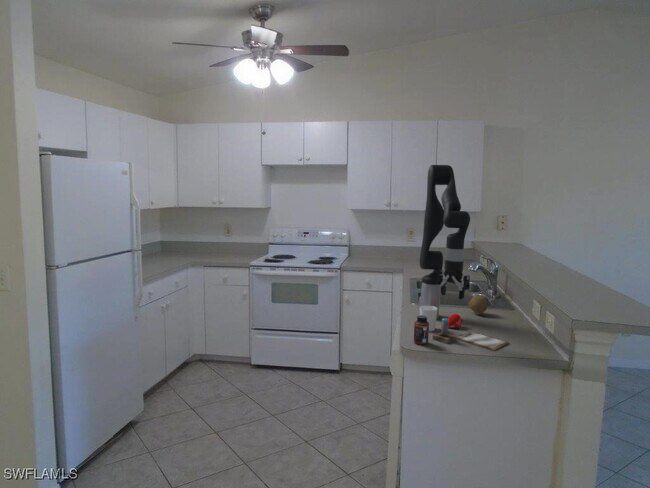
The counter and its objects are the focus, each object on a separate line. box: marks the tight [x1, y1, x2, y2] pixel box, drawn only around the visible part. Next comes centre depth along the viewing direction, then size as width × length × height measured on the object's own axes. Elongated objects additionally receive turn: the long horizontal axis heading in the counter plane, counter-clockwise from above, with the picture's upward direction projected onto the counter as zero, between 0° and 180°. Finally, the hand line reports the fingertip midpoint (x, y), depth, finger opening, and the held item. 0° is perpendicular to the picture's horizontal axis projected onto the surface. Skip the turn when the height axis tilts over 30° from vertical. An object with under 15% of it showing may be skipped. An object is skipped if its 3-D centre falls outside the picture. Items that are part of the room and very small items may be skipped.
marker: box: [441, 317, 449, 337], centre depth 187 cm, size 3×3×9 cm
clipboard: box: [456, 330, 510, 352], centre depth 186 cm, size 18×13×1 cm
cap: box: [447, 313, 463, 329], centre depth 204 cm, size 8×6×6 cm
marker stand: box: [432, 331, 457, 345], centre depth 187 cm, size 7×7×2 cm
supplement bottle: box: [413, 314, 430, 346], centre depth 182 cm, size 6×6×11 cm
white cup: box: [420, 306, 438, 332], centre depth 200 cm, size 8×8×10 cm
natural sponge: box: [468, 294, 488, 316], centre depth 225 cm, size 9×9×10 cm
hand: (452, 297), depth 185 cm, fingers open, 8 cm apart
